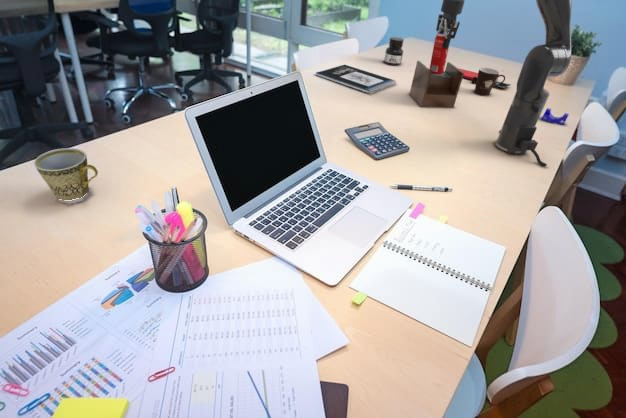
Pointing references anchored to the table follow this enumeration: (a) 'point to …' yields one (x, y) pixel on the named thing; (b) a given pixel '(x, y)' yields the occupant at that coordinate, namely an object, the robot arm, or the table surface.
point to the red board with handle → (474, 76)
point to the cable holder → (551, 118)
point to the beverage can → (438, 56)
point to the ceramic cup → (66, 173)
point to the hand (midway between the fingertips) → (441, 46)
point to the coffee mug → (486, 81)
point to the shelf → (436, 86)
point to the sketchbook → (356, 78)
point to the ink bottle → (394, 51)
